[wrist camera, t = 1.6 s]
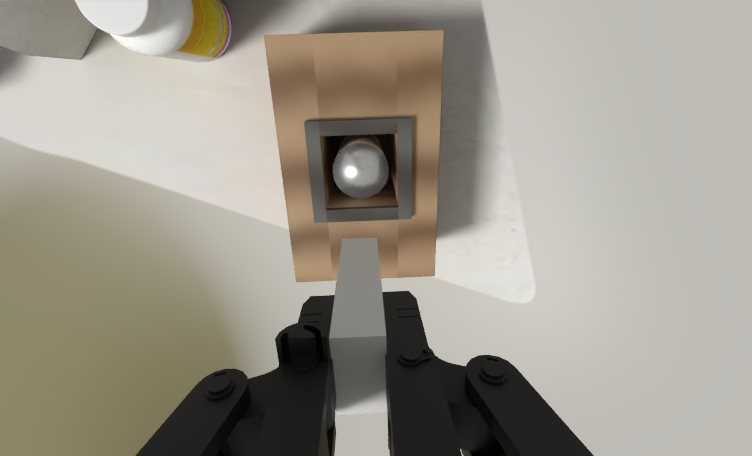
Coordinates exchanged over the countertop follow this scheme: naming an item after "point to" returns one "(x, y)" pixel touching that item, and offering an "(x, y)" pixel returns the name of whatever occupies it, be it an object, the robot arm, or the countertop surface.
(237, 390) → the robot arm
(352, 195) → the peg
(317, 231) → the socket block
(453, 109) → the countertop surface
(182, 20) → the supplement bottle
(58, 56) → the grey boxy piece
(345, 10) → the countertop surface
